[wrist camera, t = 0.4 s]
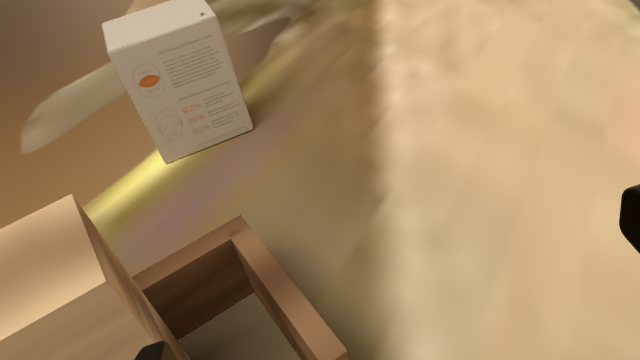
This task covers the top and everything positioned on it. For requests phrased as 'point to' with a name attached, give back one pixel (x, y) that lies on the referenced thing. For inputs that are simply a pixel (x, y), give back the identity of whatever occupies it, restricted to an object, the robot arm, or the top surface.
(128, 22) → the small box
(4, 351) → the ash block
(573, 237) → the top surface
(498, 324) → the top surface
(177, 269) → the walnut crate
